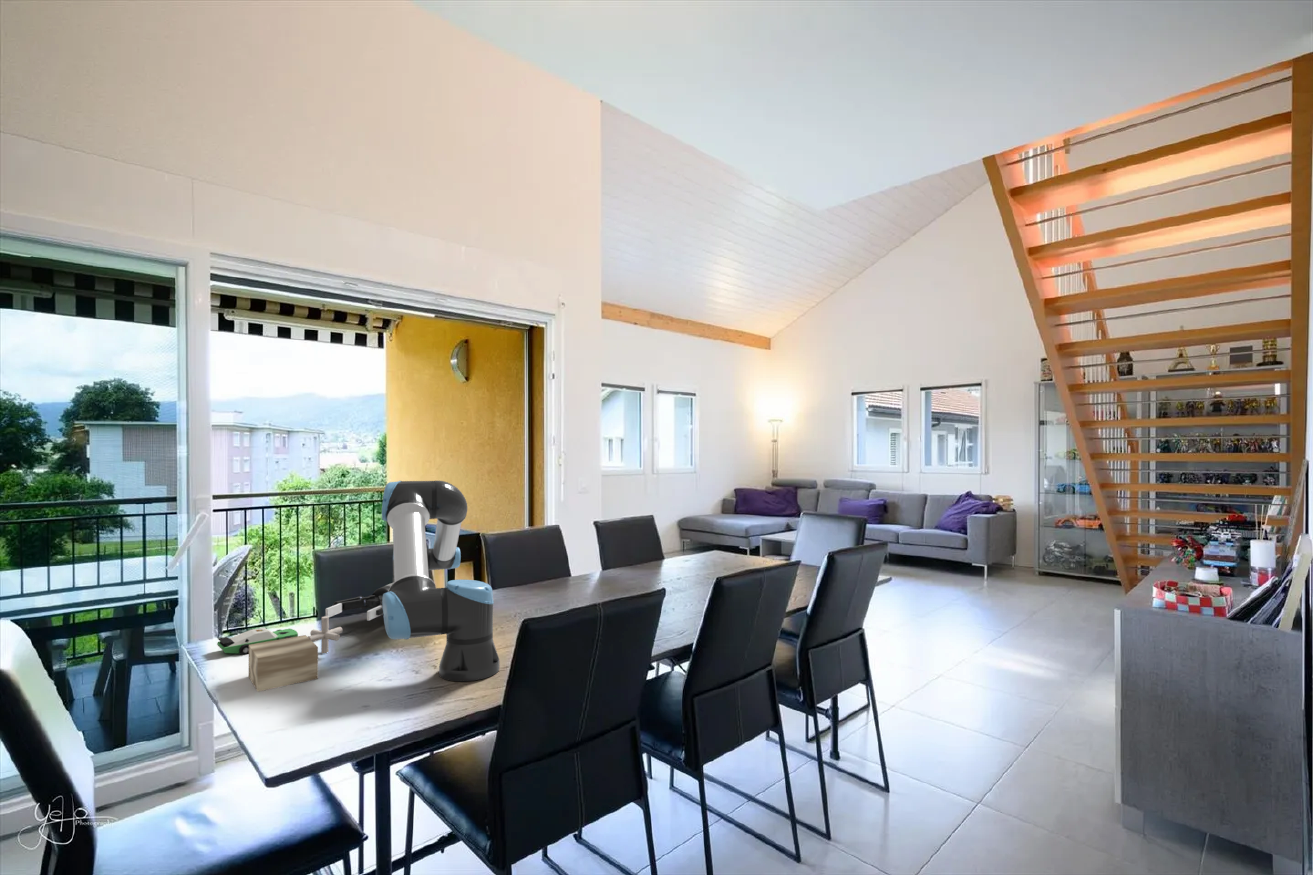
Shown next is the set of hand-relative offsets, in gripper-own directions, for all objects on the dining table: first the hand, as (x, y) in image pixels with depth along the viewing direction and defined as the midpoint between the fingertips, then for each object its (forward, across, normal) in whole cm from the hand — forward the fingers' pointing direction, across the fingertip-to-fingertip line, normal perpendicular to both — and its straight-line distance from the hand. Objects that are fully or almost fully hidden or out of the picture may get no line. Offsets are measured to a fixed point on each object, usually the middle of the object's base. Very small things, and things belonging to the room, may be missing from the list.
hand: (347, 614), depth 192 cm
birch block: (+29, -3, -8) cm, 30 cm away
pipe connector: (+10, 0, -8) cm, 13 cm away
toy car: (+9, +22, -9) cm, 25 cm away
